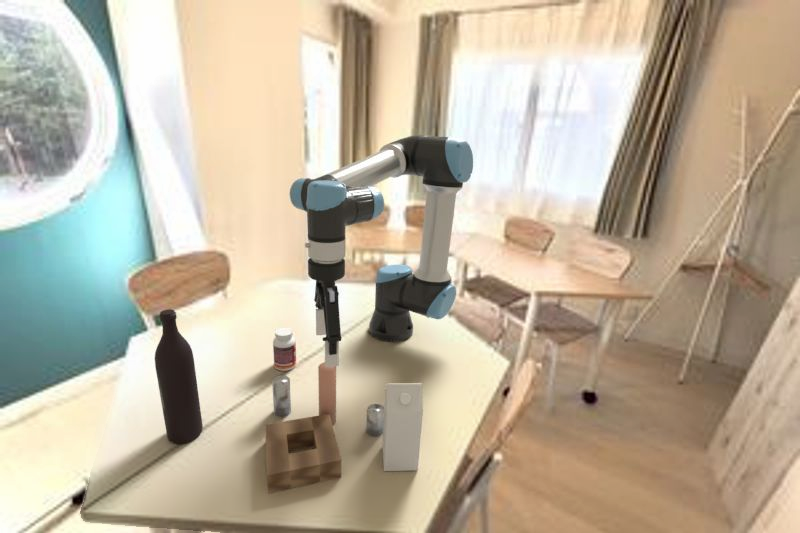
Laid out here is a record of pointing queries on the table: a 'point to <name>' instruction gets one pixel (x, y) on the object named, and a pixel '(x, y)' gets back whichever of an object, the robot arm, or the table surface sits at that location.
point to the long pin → (327, 391)
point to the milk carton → (402, 426)
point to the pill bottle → (284, 349)
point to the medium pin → (281, 396)
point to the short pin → (375, 420)
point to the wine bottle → (177, 383)
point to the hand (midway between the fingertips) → (326, 349)
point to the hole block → (305, 464)
